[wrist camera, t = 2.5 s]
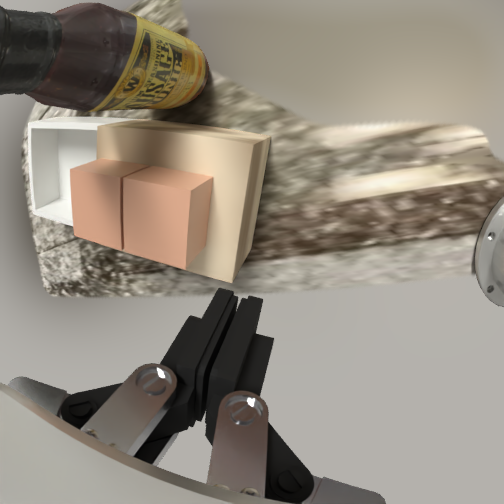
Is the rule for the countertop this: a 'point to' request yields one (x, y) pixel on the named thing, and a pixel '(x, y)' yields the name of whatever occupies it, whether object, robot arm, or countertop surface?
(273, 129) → the countertop surface
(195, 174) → the block
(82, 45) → the sauce bottle
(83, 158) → the box
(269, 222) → the countertop surface
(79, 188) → the block
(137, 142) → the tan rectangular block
